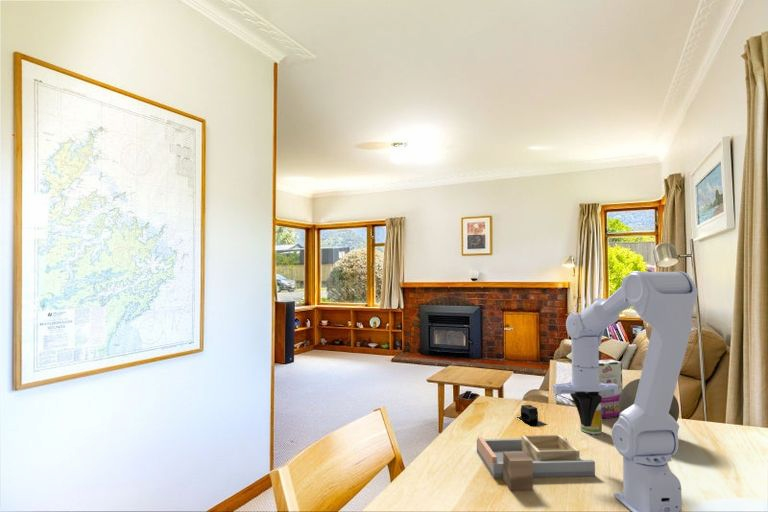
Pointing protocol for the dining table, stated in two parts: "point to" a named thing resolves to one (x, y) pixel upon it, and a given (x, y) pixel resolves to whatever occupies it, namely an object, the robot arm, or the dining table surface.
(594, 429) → the supplement bottle
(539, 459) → the crate
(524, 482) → the walnut block
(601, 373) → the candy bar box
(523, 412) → the black box
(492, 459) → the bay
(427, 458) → the dining table surface
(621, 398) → the dark grey ball
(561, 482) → the dining table surface
